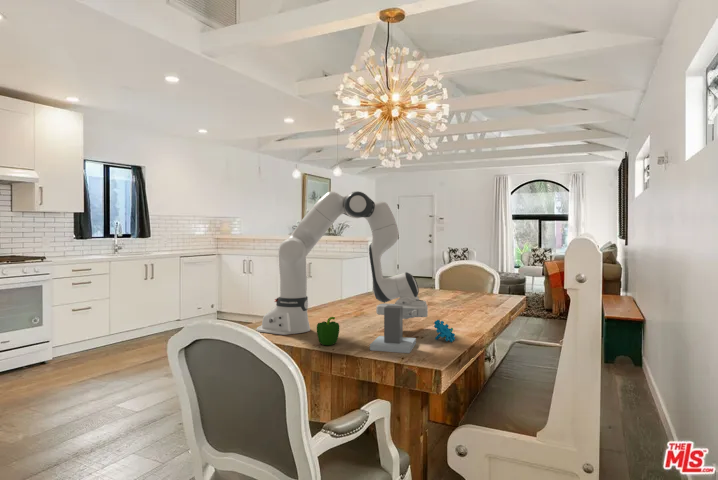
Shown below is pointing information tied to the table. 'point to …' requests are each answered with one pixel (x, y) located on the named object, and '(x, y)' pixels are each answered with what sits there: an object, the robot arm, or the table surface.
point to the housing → (393, 324)
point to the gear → (444, 331)
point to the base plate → (393, 345)
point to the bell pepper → (328, 332)
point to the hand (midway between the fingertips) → (398, 313)
